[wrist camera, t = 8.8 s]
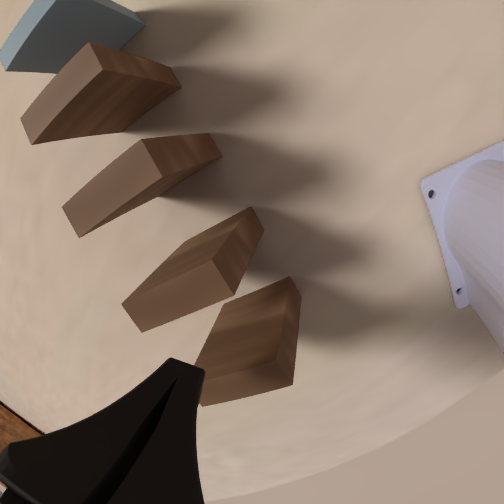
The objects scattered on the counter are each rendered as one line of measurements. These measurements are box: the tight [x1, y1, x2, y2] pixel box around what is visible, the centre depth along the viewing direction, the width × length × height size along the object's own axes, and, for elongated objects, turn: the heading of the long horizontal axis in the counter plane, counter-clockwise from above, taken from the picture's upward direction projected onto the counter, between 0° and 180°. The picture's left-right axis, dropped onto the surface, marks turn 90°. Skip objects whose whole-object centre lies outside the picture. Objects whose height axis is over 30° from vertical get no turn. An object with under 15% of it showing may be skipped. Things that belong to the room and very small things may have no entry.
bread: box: [0, 405, 42, 489], centre depth 35 cm, size 12×28×14 cm, turn 75°
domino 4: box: [122, 207, 264, 332], centre depth 16 cm, size 2×5×8 cm, turn 120°
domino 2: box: [20, 42, 181, 145], centre depth 14 cm, size 2×5×8 cm, turn 120°
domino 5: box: [194, 277, 301, 407], centre depth 17 cm, size 2×5×8 cm, turn 120°
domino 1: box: [0, 0, 145, 74], centre depth 12 cm, size 2×5×8 cm, turn 127°
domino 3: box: [62, 133, 222, 238], centre depth 15 cm, size 2×5×8 cm, turn 120°
